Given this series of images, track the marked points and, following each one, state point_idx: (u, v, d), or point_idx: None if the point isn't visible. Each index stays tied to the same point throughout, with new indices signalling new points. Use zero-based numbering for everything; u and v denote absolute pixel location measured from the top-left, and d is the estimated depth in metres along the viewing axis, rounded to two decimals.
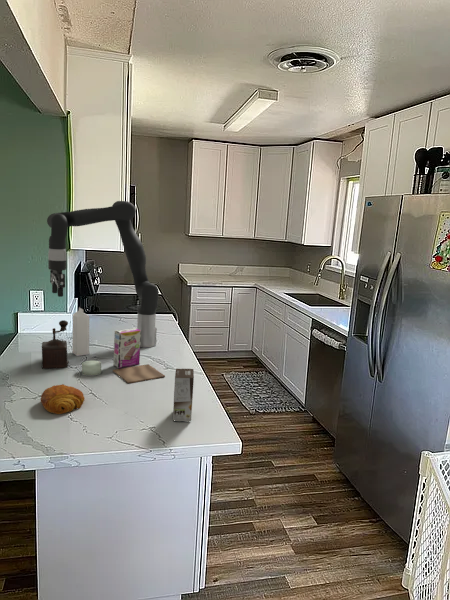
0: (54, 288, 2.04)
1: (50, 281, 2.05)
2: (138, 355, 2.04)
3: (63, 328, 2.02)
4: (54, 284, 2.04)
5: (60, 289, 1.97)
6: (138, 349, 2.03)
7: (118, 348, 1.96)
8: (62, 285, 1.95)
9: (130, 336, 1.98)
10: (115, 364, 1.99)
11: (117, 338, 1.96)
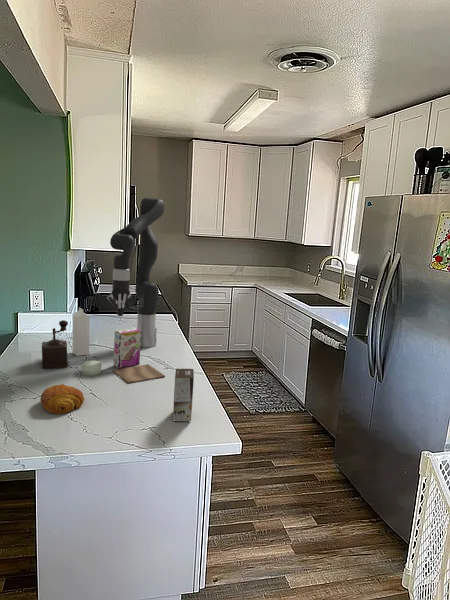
0: None
1: (116, 305, 2.02)
2: (138, 355, 2.04)
3: (63, 328, 2.02)
4: None
5: None
6: (138, 349, 2.03)
7: (118, 348, 1.96)
8: None
9: (130, 336, 1.98)
10: (115, 364, 1.99)
11: (117, 338, 1.96)
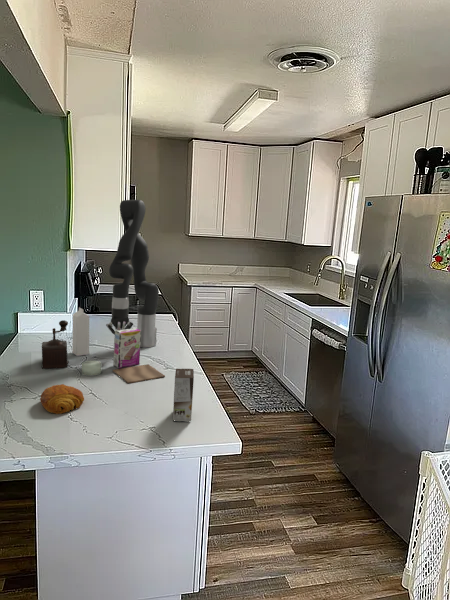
0: None
1: None
2: (138, 355, 2.04)
3: (63, 328, 2.02)
4: None
5: None
6: (138, 349, 2.03)
7: (118, 348, 1.96)
8: None
9: (130, 336, 1.98)
10: (115, 364, 1.99)
11: (117, 338, 1.96)
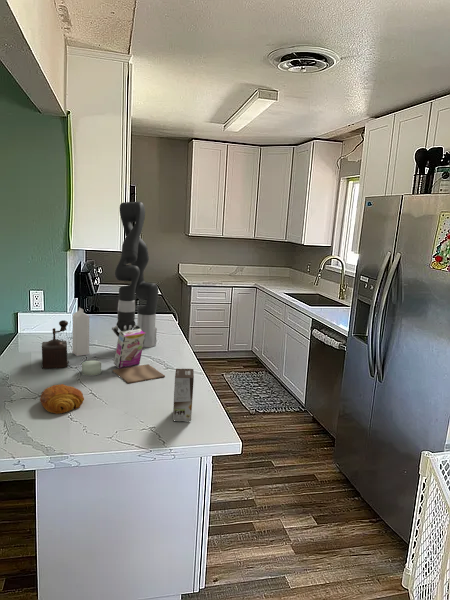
0: None
1: None
2: (140, 356, 2.03)
3: (63, 328, 2.02)
4: None
5: None
6: (140, 350, 2.02)
7: (121, 349, 1.95)
8: None
9: (134, 339, 1.96)
10: (115, 363, 1.98)
11: (120, 339, 1.94)
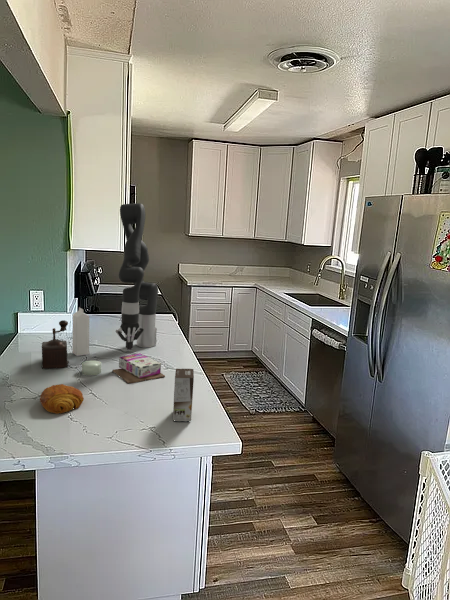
0: None
1: (125, 339, 1.96)
2: None
3: (63, 328, 2.02)
4: None
5: None
6: None
7: (130, 371, 1.91)
8: None
9: None
10: (120, 361, 1.96)
11: (135, 370, 1.87)
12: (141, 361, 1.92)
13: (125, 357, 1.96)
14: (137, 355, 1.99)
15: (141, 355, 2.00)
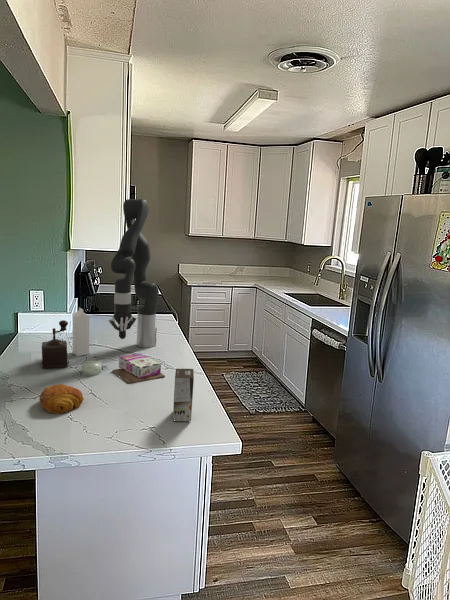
0: None
1: (118, 328, 2.03)
2: None
3: (63, 328, 2.02)
4: None
5: None
6: None
7: (130, 371, 1.91)
8: None
9: None
10: (120, 361, 1.96)
11: (135, 370, 1.87)
12: (141, 361, 1.92)
13: (125, 357, 1.96)
14: (137, 355, 1.99)
15: (141, 355, 2.00)
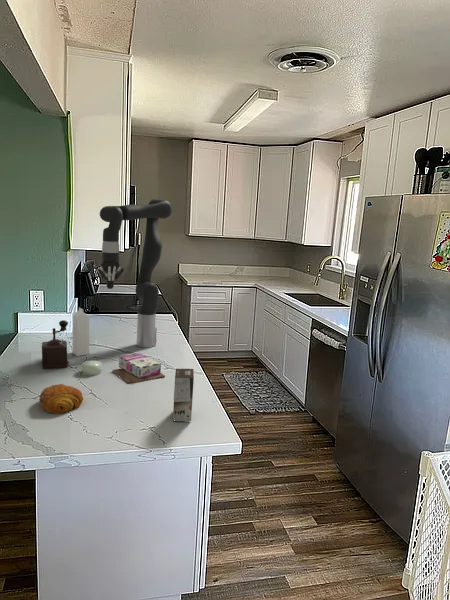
0: None
1: (106, 278, 2.03)
2: None
3: (63, 328, 2.02)
4: None
5: None
6: None
7: (130, 371, 1.91)
8: None
9: None
10: (120, 361, 1.96)
11: (135, 370, 1.87)
12: (141, 361, 1.92)
13: (125, 357, 1.96)
14: (137, 355, 1.99)
15: (141, 355, 2.00)
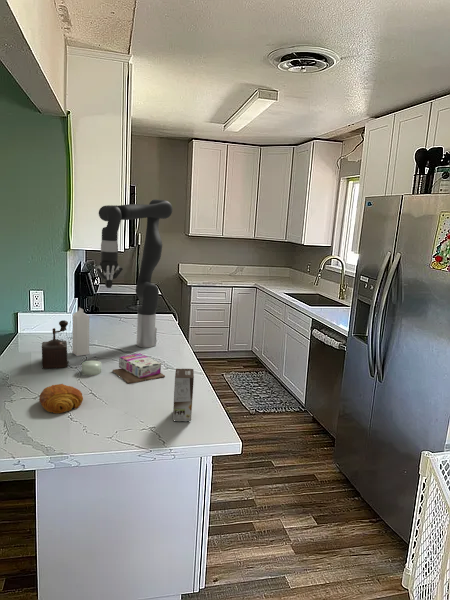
0: None
1: (104, 277, 2.04)
2: None
3: (63, 328, 2.02)
4: None
5: None
6: None
7: (130, 371, 1.91)
8: None
9: None
10: (120, 361, 1.96)
11: (135, 370, 1.87)
12: (141, 361, 1.92)
13: (125, 357, 1.96)
14: (137, 355, 1.99)
15: (141, 355, 2.00)
